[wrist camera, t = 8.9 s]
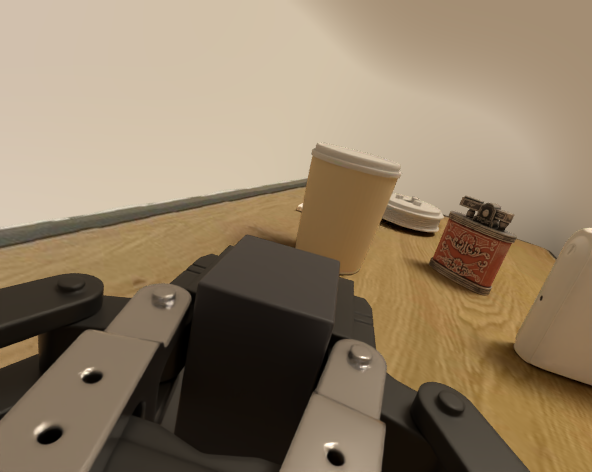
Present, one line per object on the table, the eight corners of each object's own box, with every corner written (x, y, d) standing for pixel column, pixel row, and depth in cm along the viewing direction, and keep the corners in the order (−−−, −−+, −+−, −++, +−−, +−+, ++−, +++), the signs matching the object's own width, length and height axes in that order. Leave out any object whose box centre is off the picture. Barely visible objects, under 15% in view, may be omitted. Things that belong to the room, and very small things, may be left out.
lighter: (494, 293, 41) (532, 216, 38) (480, 296, 39) (519, 214, 36) (438, 262, 47) (467, 193, 44) (423, 263, 45) (452, 191, 42)
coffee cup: (378, 265, 41) (413, 166, 37) (347, 288, 33) (387, 165, 29) (312, 236, 45) (337, 144, 41) (271, 250, 37) (297, 138, 33)
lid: (430, 224, 69) (439, 200, 67) (442, 243, 57) (454, 215, 55) (369, 207, 70) (376, 183, 69) (368, 222, 59) (377, 194, 57)
